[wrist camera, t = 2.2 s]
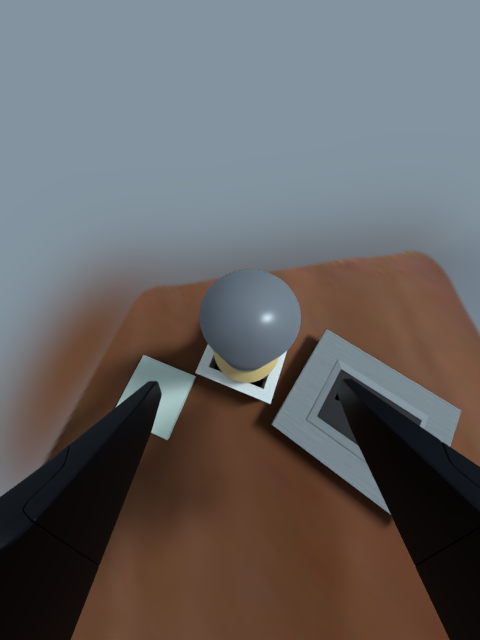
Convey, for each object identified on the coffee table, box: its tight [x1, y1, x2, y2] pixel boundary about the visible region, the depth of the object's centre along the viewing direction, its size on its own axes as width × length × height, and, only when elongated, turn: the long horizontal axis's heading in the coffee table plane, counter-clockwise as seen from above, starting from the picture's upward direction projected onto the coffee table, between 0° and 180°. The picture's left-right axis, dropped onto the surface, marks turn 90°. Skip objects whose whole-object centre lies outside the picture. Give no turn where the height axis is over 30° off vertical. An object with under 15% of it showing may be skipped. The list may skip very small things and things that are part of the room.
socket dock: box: [195, 344, 287, 404], centre depth 18 cm, size 7×7×3 cm
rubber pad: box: [115, 355, 196, 440], centre depth 18 cm, size 6×6×1 cm
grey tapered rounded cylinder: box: [199, 269, 301, 383], centre depth 13 cm, size 6×6×13 cm
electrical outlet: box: [272, 329, 461, 515], centre depth 17 cm, size 13×10×2 cm
